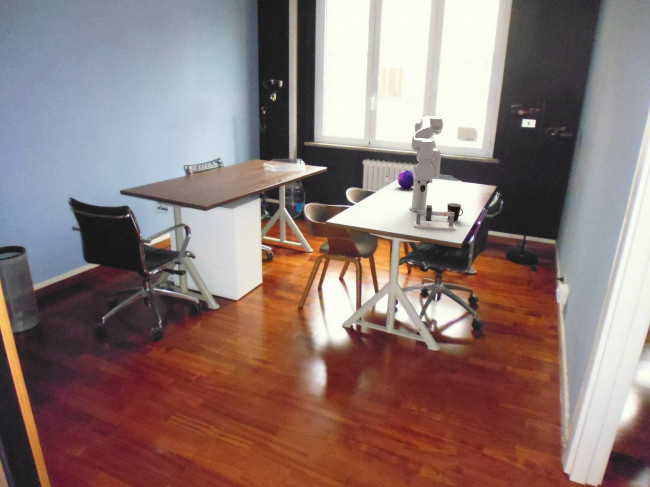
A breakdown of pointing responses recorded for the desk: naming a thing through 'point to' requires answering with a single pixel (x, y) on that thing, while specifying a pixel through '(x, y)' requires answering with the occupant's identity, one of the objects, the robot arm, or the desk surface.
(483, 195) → the desk surface
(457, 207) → the coffee mug
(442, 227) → the rail fixture
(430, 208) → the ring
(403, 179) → the decorative orb
